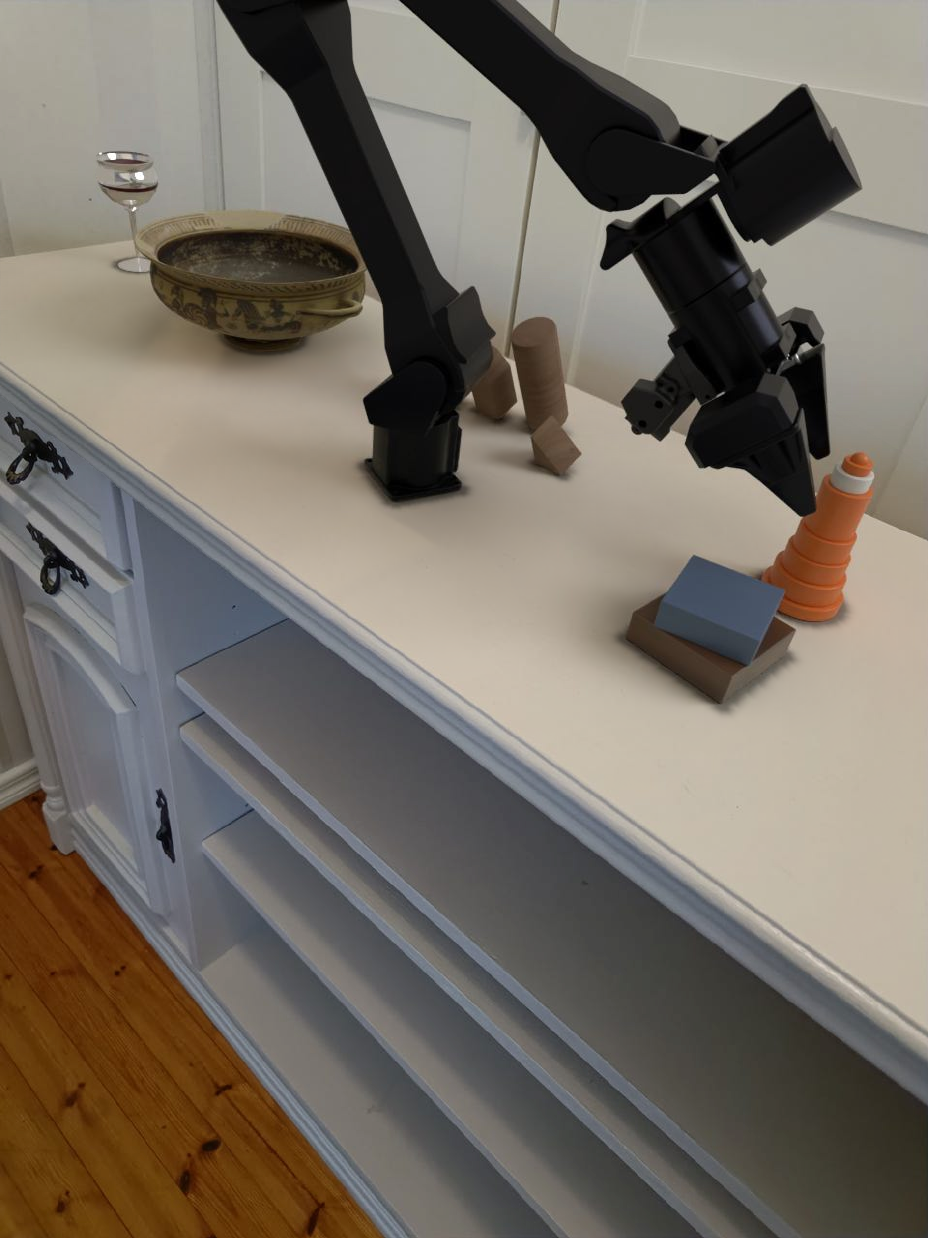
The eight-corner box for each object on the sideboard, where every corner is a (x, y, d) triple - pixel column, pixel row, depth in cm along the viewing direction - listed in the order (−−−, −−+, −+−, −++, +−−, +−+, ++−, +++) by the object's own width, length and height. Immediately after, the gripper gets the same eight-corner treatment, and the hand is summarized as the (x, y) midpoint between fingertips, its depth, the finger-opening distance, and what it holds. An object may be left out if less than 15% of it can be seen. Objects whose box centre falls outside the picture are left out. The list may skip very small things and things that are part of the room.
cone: (798, 629, 62) (866, 482, 54) (742, 581, 66) (798, 438, 58) (855, 611, 64) (928, 467, 56) (798, 566, 68) (859, 426, 60)
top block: (749, 667, 54) (760, 641, 53) (652, 626, 56) (661, 600, 55) (775, 614, 59) (785, 589, 57) (685, 579, 61) (693, 553, 60)
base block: (720, 704, 55) (731, 677, 53) (625, 638, 59) (632, 611, 57) (785, 655, 59) (797, 629, 58) (691, 597, 63) (700, 571, 62)
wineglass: (135, 252, 109) (120, 147, 101) (179, 264, 107) (168, 158, 99) (97, 265, 104) (79, 156, 96) (143, 278, 102) (128, 167, 94)
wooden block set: (422, 421, 86) (394, 337, 78) (477, 369, 88) (456, 283, 80) (563, 489, 77) (549, 402, 68) (620, 429, 79) (613, 339, 71)
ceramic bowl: (437, 364, 91) (445, 268, 85) (243, 418, 78) (236, 309, 71) (278, 277, 107) (275, 191, 101) (93, 310, 93) (76, 212, 87)
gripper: (640, 313, 67) (736, 475, 71) (562, 397, 54) (686, 591, 58) (771, 229, 60) (870, 414, 64) (720, 301, 47) (849, 530, 51)
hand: (816, 483), depth 60 cm, fingers open, 9 cm apart
